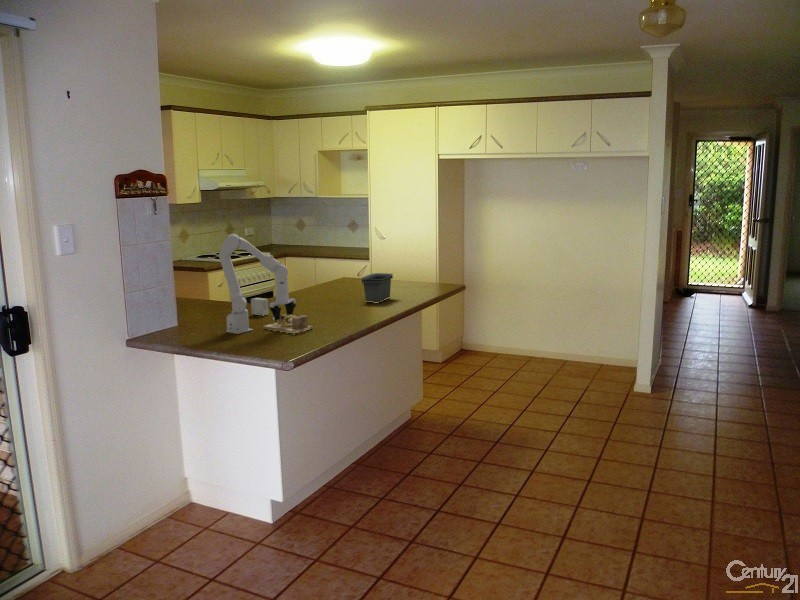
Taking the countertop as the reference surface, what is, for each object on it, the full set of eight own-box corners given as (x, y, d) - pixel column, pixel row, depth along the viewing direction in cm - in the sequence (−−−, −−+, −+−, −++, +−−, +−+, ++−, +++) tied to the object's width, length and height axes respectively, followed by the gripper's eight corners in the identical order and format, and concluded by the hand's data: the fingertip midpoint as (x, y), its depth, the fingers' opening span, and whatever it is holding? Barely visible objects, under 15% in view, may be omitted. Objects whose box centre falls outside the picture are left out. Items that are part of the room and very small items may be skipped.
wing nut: (280, 328, 303) (280, 317, 302) (276, 327, 305) (275, 316, 304) (297, 323, 312) (297, 313, 311) (293, 322, 314) (292, 312, 313)
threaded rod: (296, 324, 303) (296, 320, 303) (272, 320, 312) (272, 316, 312) (299, 323, 305) (299, 319, 305) (275, 319, 314) (275, 315, 314)
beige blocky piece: (294, 334, 298) (293, 319, 297) (263, 329, 310) (262, 315, 308) (313, 329, 307) (312, 315, 306) (282, 324, 319) (281, 310, 318)
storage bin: (382, 304, 366) (381, 278, 364) (355, 303, 371) (355, 277, 369) (395, 298, 386) (395, 273, 383) (370, 297, 391) (370, 272, 389)
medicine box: (269, 315, 342) (268, 298, 341) (263, 317, 338) (262, 300, 337) (257, 314, 346) (256, 297, 344) (251, 315, 342) (250, 298, 341)
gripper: (276, 294, 299) (278, 324, 301) (299, 289, 310) (300, 318, 313) (265, 293, 303) (267, 322, 305) (288, 288, 315) (290, 316, 317)
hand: (283, 320), depth 309 cm, fingers open, 7 cm apart
